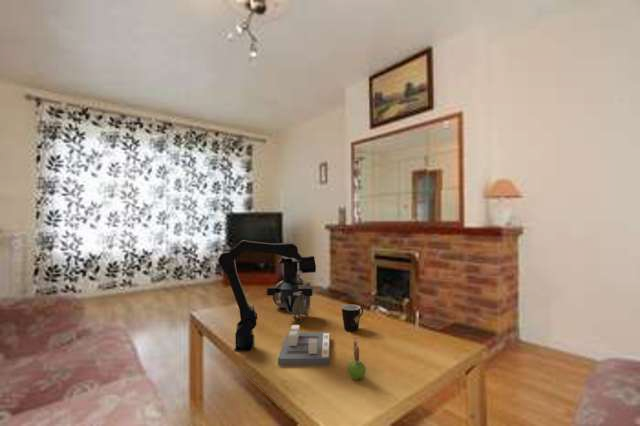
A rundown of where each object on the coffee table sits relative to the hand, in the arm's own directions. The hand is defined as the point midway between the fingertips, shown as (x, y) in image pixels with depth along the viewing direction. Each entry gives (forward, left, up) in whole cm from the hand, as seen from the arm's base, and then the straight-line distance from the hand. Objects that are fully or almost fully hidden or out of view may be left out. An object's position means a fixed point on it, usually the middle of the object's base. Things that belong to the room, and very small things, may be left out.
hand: (290, 311), depth 134 cm
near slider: (+10, -15, -10) cm, 20 cm away
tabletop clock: (0, +29, -13) cm, 32 cm away
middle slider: (+2, -8, -10) cm, 13 cm away
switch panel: (+7, -8, -13) cm, 16 cm away
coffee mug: (+27, +15, -13) cm, 34 cm away
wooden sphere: (-9, +48, -13) cm, 51 cm away
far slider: (+2, -1, -10) cm, 10 cm away
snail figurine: (+25, -28, -13) cm, 39 cm away
